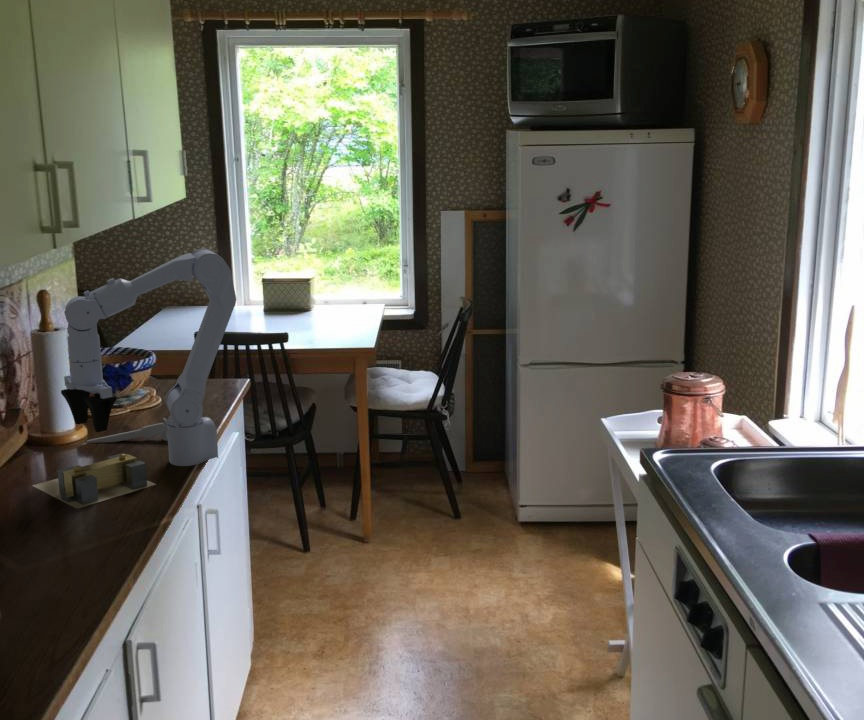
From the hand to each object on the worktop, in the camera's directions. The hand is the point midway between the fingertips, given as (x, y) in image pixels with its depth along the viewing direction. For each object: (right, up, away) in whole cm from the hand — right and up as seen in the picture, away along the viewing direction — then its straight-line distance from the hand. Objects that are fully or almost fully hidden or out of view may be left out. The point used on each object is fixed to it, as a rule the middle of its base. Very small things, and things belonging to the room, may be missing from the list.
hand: (91, 427), depth 177 cm
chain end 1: (+2, -12, -11) cm, 17 cm away
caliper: (+1, -6, +21) cm, 22 cm away
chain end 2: (+9, -10, -4) cm, 14 cm away
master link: (+5, -10, -8) cm, 14 cm away
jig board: (+3, -11, -5) cm, 13 cm away
